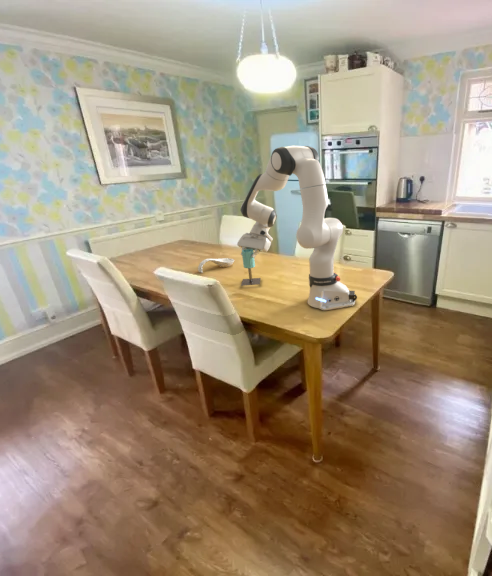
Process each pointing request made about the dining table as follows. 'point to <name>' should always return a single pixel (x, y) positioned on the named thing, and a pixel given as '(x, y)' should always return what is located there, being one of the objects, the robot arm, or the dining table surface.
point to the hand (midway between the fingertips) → (247, 256)
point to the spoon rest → (221, 262)
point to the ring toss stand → (250, 279)
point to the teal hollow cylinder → (248, 258)
